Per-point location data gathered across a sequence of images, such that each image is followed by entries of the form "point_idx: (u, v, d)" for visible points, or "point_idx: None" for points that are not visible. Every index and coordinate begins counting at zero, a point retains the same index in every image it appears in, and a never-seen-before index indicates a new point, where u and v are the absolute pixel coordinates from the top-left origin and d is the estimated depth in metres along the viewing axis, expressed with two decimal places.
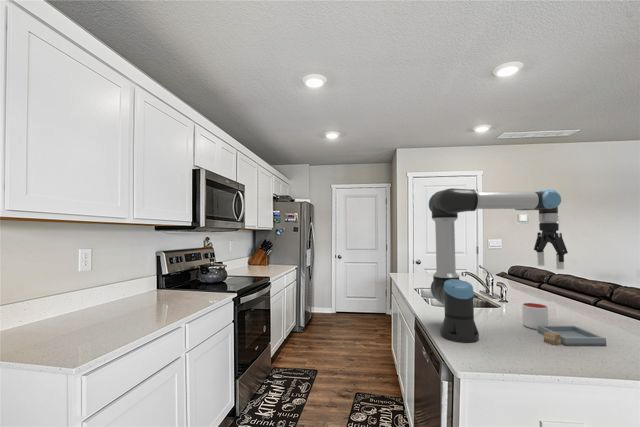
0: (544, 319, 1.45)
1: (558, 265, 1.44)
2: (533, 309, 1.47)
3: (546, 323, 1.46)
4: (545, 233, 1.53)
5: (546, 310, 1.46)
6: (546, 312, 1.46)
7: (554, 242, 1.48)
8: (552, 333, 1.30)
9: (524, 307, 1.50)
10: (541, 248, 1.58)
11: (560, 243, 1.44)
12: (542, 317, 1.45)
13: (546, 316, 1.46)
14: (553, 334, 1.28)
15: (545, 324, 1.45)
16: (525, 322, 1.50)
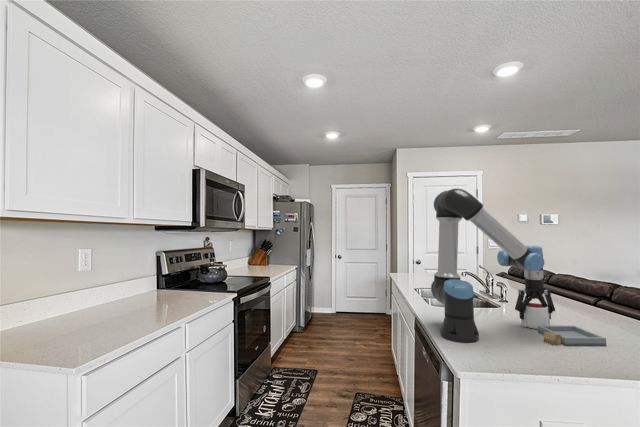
0: (544, 319, 1.45)
1: (521, 321, 1.51)
2: (533, 309, 1.47)
3: (546, 323, 1.46)
4: None
5: (546, 310, 1.46)
6: (546, 312, 1.46)
7: (525, 299, 1.51)
8: (552, 333, 1.30)
9: None
10: None
11: (518, 300, 1.51)
12: (542, 316, 1.45)
13: (546, 316, 1.46)
14: (553, 334, 1.28)
15: (545, 324, 1.45)
16: None
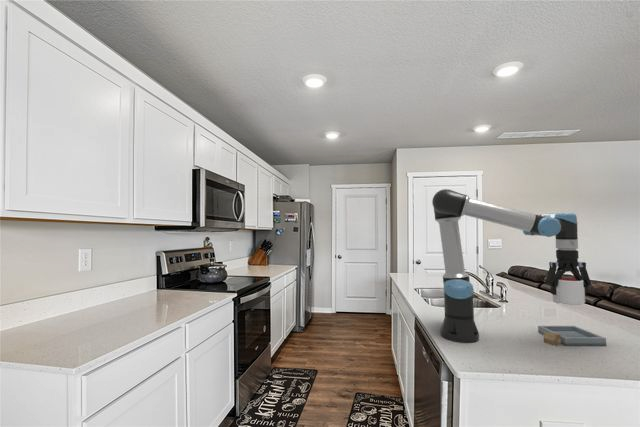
0: (580, 293, 1.30)
1: (553, 297, 1.36)
2: (567, 282, 1.31)
3: (582, 298, 1.30)
4: None
5: (582, 283, 1.31)
6: (582, 286, 1.31)
7: (557, 272, 1.36)
8: (552, 333, 1.30)
9: None
10: None
11: (549, 273, 1.36)
12: (578, 291, 1.30)
13: (582, 290, 1.31)
14: (553, 334, 1.28)
15: (581, 299, 1.30)
16: None
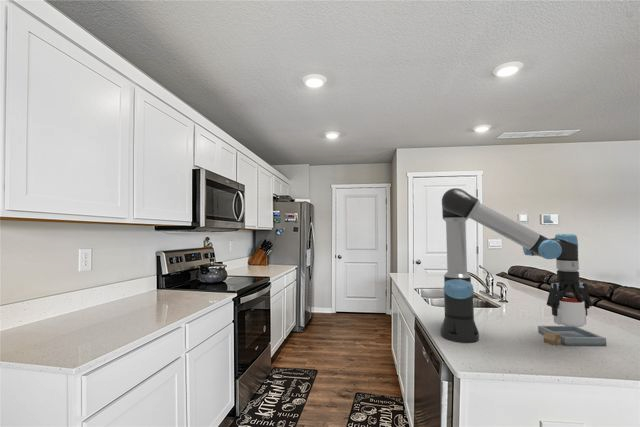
0: (581, 315, 1.30)
1: (554, 318, 1.35)
2: (568, 304, 1.31)
3: (583, 320, 1.30)
4: None
5: (583, 305, 1.30)
6: (583, 307, 1.30)
7: (558, 293, 1.35)
8: (552, 333, 1.30)
9: None
10: None
11: (550, 294, 1.35)
12: (579, 312, 1.30)
13: (583, 312, 1.30)
14: (553, 334, 1.28)
15: (582, 321, 1.30)
16: None
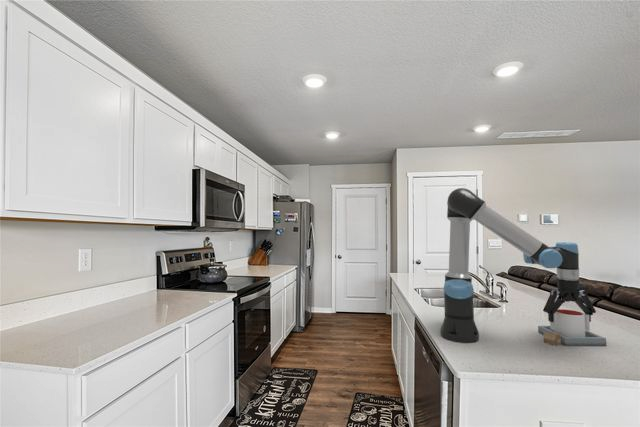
0: (581, 328, 1.29)
1: (551, 324, 1.35)
2: (568, 317, 1.31)
3: (583, 332, 1.30)
4: None
5: (583, 318, 1.30)
6: (583, 320, 1.30)
7: (557, 300, 1.35)
8: (552, 333, 1.30)
9: (557, 314, 1.34)
10: (582, 309, 1.35)
11: (548, 301, 1.35)
12: (579, 325, 1.29)
13: (583, 324, 1.30)
14: (553, 334, 1.28)
15: (582, 333, 1.29)
16: (558, 331, 1.34)
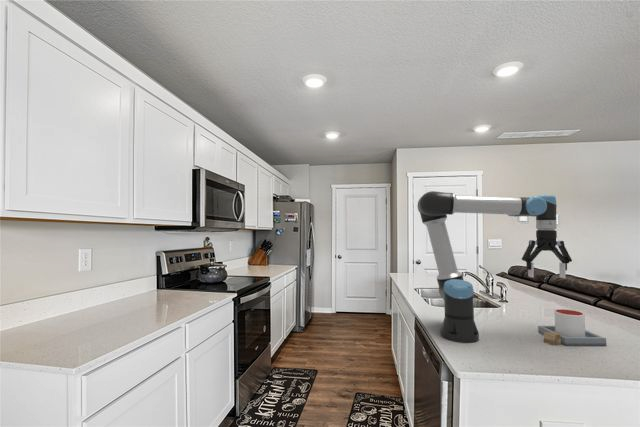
0: (581, 328, 1.29)
1: (528, 272, 1.44)
2: (568, 317, 1.31)
3: (583, 332, 1.30)
4: None
5: (583, 318, 1.30)
6: (583, 320, 1.30)
7: (535, 250, 1.44)
8: (552, 333, 1.30)
9: (557, 314, 1.34)
10: (559, 258, 1.43)
11: (526, 250, 1.44)
12: (579, 325, 1.29)
13: (583, 324, 1.30)
14: (553, 334, 1.28)
15: (582, 333, 1.29)
16: (558, 331, 1.34)
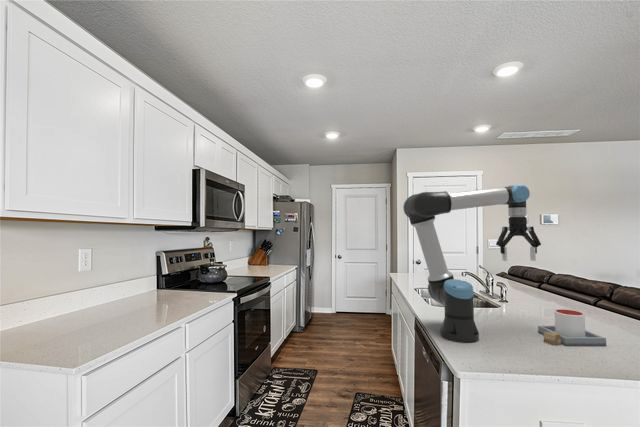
0: (581, 328, 1.29)
1: (502, 256, 1.56)
2: (568, 317, 1.31)
3: (583, 332, 1.30)
4: None
5: (583, 318, 1.30)
6: (583, 320, 1.30)
7: (508, 235, 1.56)
8: (552, 333, 1.30)
9: (557, 314, 1.34)
10: (530, 242, 1.55)
11: (500, 236, 1.55)
12: (579, 325, 1.29)
13: (583, 324, 1.30)
14: (553, 334, 1.28)
15: (582, 333, 1.29)
16: (558, 331, 1.34)
